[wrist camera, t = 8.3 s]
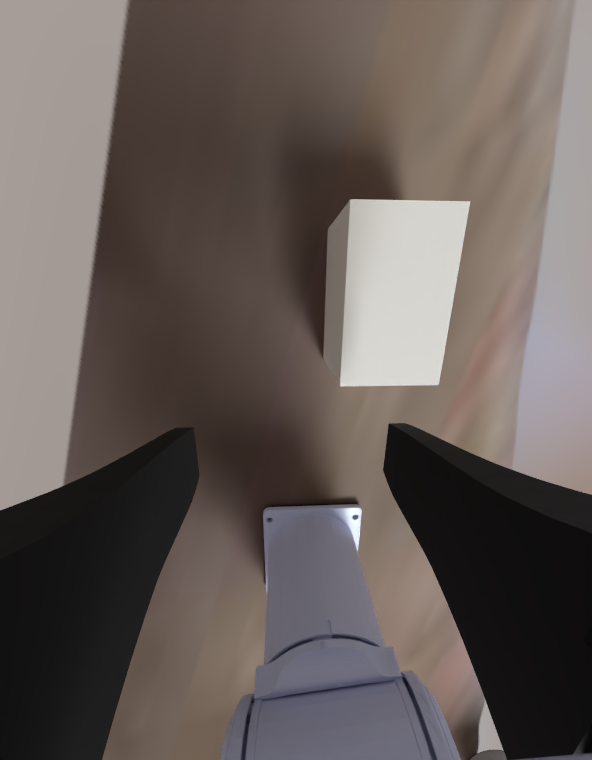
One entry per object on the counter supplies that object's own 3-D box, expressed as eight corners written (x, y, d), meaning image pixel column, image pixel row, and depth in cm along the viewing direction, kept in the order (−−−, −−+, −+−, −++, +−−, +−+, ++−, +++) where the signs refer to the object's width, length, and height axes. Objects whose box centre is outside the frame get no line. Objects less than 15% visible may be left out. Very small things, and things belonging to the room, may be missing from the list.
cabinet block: (394, 358, 19) (438, 384, 14) (323, 359, 19) (340, 386, 14) (409, 230, 17) (470, 201, 11) (327, 229, 17) (350, 199, 11)
